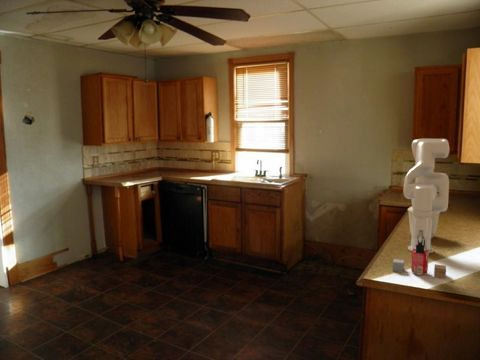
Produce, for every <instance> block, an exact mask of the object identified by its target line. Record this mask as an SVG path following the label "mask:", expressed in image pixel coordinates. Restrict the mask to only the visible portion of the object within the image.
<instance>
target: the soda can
mask: <svg viewBox="0 0 480 360" xmlns="http://www.w3.org/2000/svg"><path fill="white" fill-rule="evenodd" d="M429 256H430V253H428V251H427V248H426V247H424V254H419V253H416V246H415V247H414V249H413V250H412V251H411V262H410V263H411V264H410V271H411V272H412V273H413V274H414V275H416V276H424V275H426V274H428V270H429Z"/></svg>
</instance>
